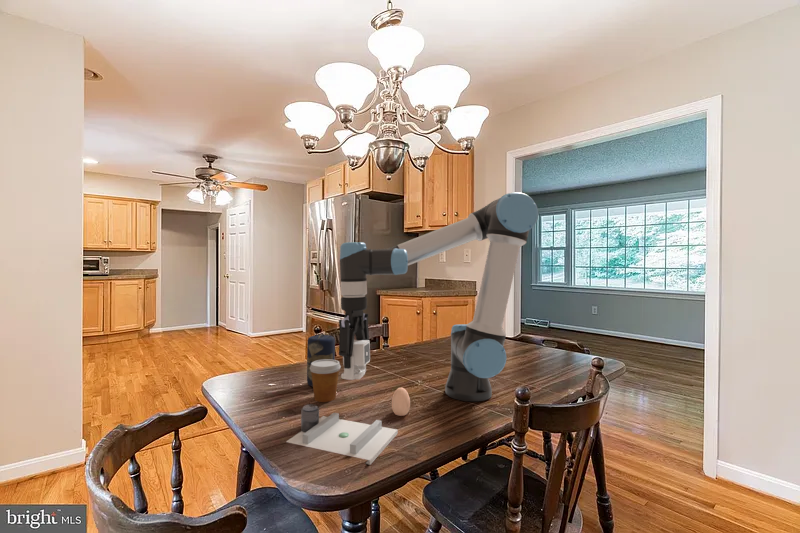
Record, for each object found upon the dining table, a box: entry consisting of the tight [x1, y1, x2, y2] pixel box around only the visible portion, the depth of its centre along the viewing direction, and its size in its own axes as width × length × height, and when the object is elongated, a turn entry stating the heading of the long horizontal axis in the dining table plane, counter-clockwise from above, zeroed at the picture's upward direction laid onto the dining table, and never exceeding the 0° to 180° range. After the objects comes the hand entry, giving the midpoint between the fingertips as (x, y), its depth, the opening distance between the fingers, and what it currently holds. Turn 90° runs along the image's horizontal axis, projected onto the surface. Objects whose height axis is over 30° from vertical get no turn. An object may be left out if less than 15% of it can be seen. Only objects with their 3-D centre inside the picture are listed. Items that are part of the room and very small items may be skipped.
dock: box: [285, 412, 399, 466], centre depth 93 cm, size 22×16×3 cm
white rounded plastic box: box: [340, 339, 371, 380], centre depth 109 cm, size 6×7×10 cm
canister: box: [306, 333, 336, 388], centre depth 133 cm, size 10×10×18 cm
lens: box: [300, 403, 320, 433], centre depth 96 cm, size 4×4×6 cm
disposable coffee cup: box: [310, 359, 342, 403], centre depth 118 cm, size 10×10×12 cm
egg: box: [391, 387, 411, 417], centre depth 106 cm, size 5×5×8 cm
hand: (355, 375), depth 110 cm, fingers closed on white rounded plastic box, 7 cm apart
